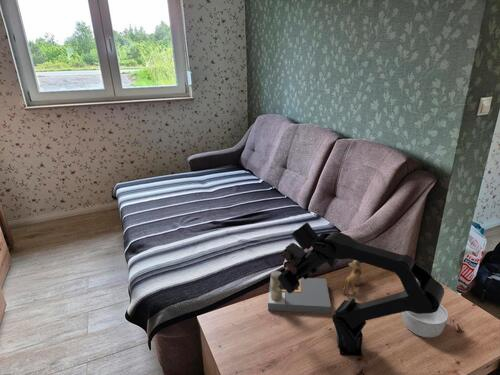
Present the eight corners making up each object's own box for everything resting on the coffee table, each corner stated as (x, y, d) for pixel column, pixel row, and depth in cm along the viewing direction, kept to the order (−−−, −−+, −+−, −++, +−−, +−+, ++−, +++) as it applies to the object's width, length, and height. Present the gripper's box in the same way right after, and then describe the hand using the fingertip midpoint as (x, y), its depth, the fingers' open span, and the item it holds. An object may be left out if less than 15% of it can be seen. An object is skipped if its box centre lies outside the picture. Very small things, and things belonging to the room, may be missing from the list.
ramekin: (449, 346, 93) (453, 328, 91) (401, 335, 98) (403, 318, 95) (440, 316, 105) (443, 299, 102) (397, 307, 109) (400, 291, 107)
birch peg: (282, 294, 113) (282, 271, 110) (282, 301, 110) (281, 277, 106) (271, 293, 114) (271, 270, 111) (270, 301, 110) (270, 277, 107)
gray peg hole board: (325, 285, 123) (325, 278, 122) (330, 313, 108) (330, 306, 107) (270, 282, 125) (270, 275, 124) (268, 310, 110) (267, 302, 109)
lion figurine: (348, 275, 128) (349, 257, 125) (361, 278, 126) (363, 259, 123) (341, 297, 116) (342, 277, 113) (355, 301, 113) (357, 280, 110)
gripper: (312, 228, 103) (287, 250, 113) (279, 251, 89) (255, 274, 100) (335, 255, 99) (307, 275, 110) (305, 283, 86) (277, 303, 96)
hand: (287, 280), depth 104 cm, fingers open, 9 cm apart
